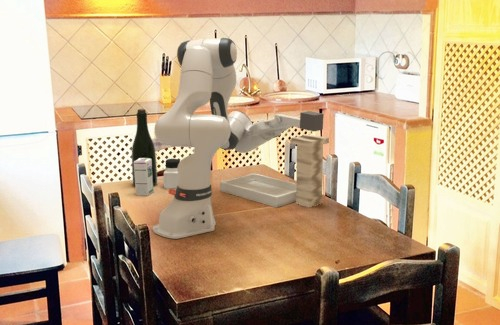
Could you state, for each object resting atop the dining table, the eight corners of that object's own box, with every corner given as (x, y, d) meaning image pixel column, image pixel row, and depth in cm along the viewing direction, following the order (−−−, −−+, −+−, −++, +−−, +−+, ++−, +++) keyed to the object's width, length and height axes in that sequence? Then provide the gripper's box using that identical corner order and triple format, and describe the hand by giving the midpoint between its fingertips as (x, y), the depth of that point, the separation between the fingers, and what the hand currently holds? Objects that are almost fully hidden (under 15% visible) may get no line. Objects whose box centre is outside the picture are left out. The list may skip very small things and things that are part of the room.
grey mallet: (314, 131, 224) (314, 115, 222) (272, 122, 238) (273, 107, 237) (322, 129, 227) (323, 113, 226) (281, 121, 242) (281, 106, 240)
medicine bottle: (180, 188, 258) (179, 161, 255) (164, 188, 258) (162, 161, 255) (183, 184, 265) (182, 157, 262) (166, 184, 265) (165, 157, 262)
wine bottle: (158, 186, 260) (155, 110, 253) (134, 188, 258) (129, 111, 250) (155, 180, 270) (152, 107, 263) (132, 182, 268) (127, 108, 260)
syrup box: (148, 195, 248) (147, 161, 244) (135, 195, 249) (133, 160, 245) (153, 192, 253) (152, 158, 250) (140, 191, 254) (138, 157, 251)
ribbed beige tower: (310, 209, 228) (311, 141, 222) (290, 204, 235) (291, 138, 229) (327, 203, 235) (328, 137, 229) (307, 198, 242) (308, 134, 236)
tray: (276, 207, 231) (276, 197, 230) (220, 191, 253) (220, 181, 252) (310, 196, 245) (310, 186, 244) (254, 181, 267) (254, 173, 266)
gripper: (241, 128, 240) (262, 114, 230) (276, 121, 254) (298, 108, 244) (246, 142, 239) (268, 129, 229) (282, 135, 253) (304, 122, 243)
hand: (284, 118), depth 237 cm, fingers closed on grey mallet, 3 cm apart
